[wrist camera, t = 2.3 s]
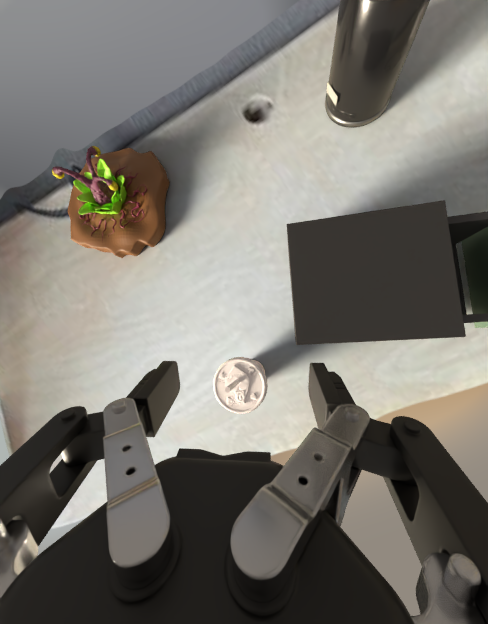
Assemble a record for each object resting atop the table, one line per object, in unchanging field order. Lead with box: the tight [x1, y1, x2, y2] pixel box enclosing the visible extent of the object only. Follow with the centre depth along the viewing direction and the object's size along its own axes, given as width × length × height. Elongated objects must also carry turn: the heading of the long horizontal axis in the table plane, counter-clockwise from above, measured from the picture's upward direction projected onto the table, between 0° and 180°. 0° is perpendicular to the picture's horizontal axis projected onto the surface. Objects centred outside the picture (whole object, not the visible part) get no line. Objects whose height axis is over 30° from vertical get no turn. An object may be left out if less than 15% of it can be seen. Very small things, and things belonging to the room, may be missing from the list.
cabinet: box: [287, 200, 466, 345], centre depth 29 cm, size 16×14×11 cm
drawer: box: [447, 212, 488, 328], centre depth 27 cm, size 19×12×9 cm, turn 94°
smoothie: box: [213, 357, 267, 414], centre depth 30 cm, size 6×6×14 cm
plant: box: [52, 146, 169, 258], centre depth 39 cm, size 20×20×11 cm
